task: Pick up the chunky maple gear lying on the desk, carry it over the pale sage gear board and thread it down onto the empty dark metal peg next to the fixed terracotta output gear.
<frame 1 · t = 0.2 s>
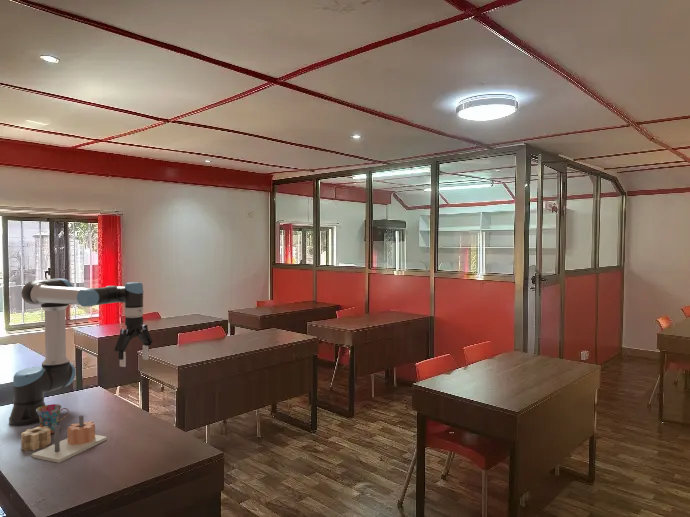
hand: (134, 362, 210), 28 cm above the table, fingers open, 13 cm apart
mug: (52, 431, 201), on the table
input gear: (36, 445, 186), on the table
gear board: (70, 447, 184), on the table
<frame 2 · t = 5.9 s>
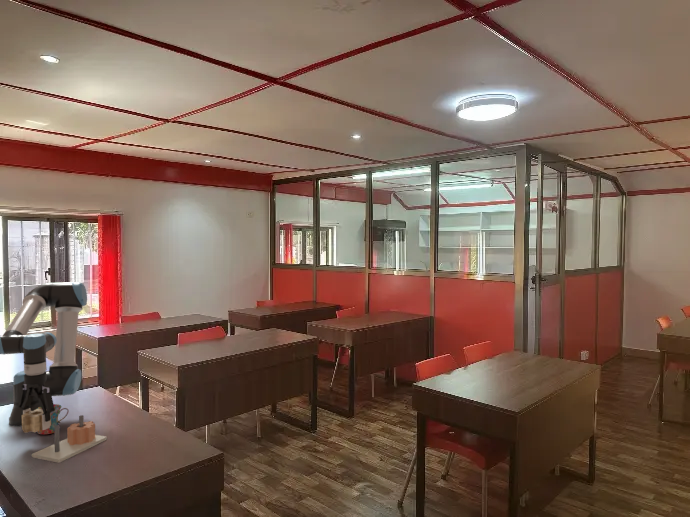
hand: (36, 426, 187), 7 cm above the table, fingers closed on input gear, 10 cm apart
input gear: (36, 427, 187), point 7 cm above the table, touching gripper
everything else where it was.
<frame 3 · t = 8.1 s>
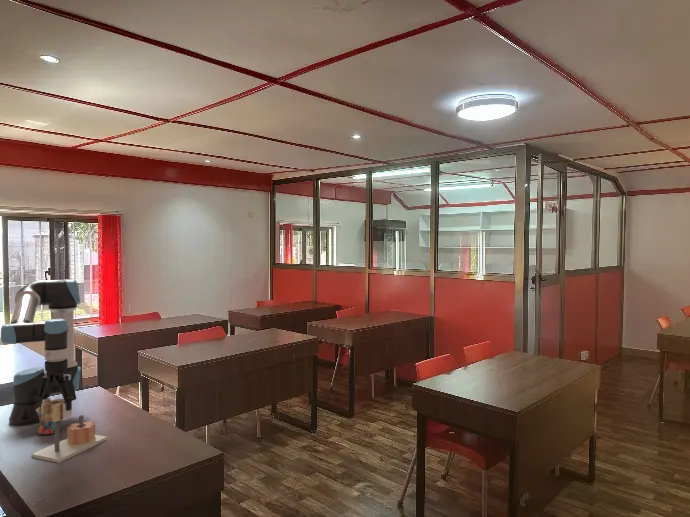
hand: (56, 417, 178), 15 cm above the table, fingers closed on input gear, 10 cm apart
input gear: (56, 417, 178), point 14 cm above the table, touching gripper
everything else where it was.
when the fingers open (4 cm above the table, at t = 10.6 s): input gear drops 3 cm, resting on gear board.
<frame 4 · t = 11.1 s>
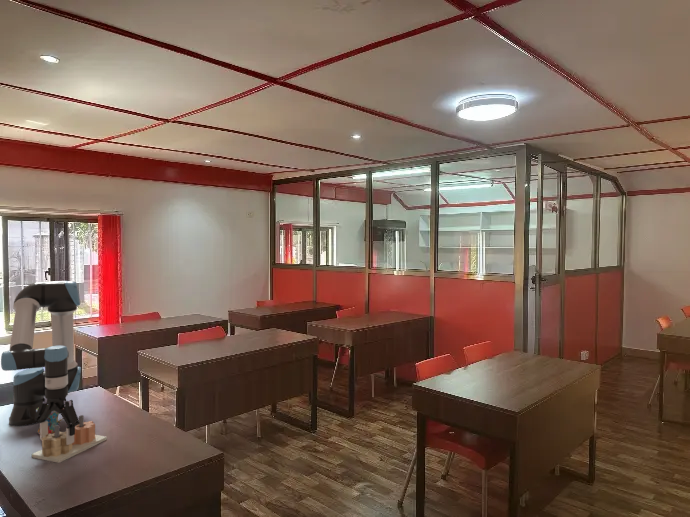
hand: (57, 441, 179), 5 cm above the table, fingers open, 13 cm apart
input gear: (57, 451, 179), point 1 cm above the table, touching gear board
everything else where it was.
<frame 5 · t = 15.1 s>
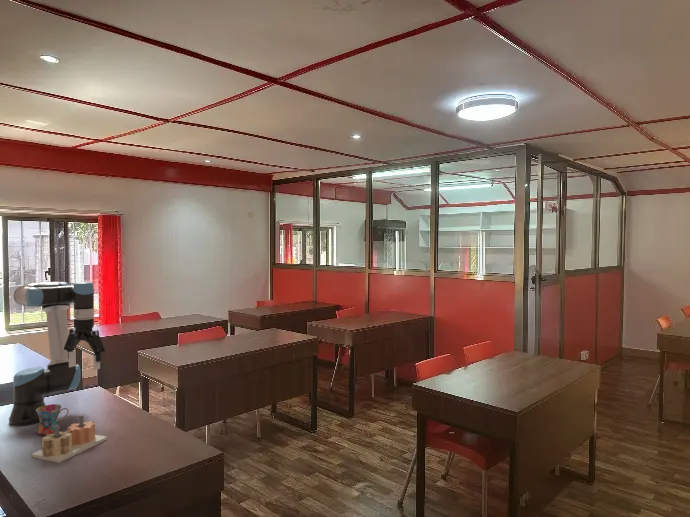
hand: (84, 368, 197), 29 cm above the table, fingers open, 13 cm apart
nothing on the table moved.
at the end: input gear 0.1 cm from the target spot on the gear board, point 1.2 cm above the gear board's base; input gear tilted 0°; the gripper is holding nothing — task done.
